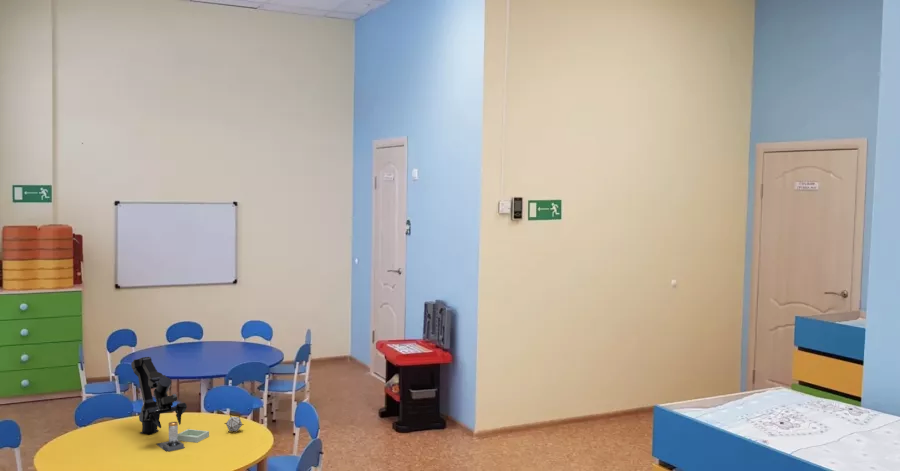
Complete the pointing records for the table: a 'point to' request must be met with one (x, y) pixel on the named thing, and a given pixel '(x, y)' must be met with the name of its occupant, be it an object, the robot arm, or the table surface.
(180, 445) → the grey slab
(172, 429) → the pin
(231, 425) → the game die
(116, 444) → the table surface
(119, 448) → the table surface
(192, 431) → the tray
